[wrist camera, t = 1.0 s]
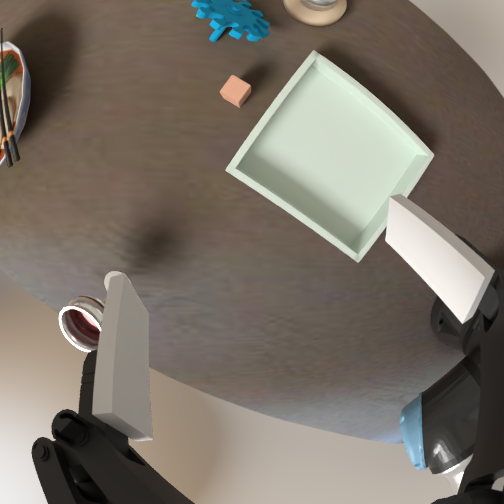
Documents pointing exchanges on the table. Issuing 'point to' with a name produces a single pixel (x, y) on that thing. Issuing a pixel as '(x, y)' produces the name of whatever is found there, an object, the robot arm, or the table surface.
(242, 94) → the post
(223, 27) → the gear
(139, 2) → the table surface
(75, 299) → the wineglass
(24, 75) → the ramen bowl
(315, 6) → the crank
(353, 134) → the tray
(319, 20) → the crank pedestal
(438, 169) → the table surface
